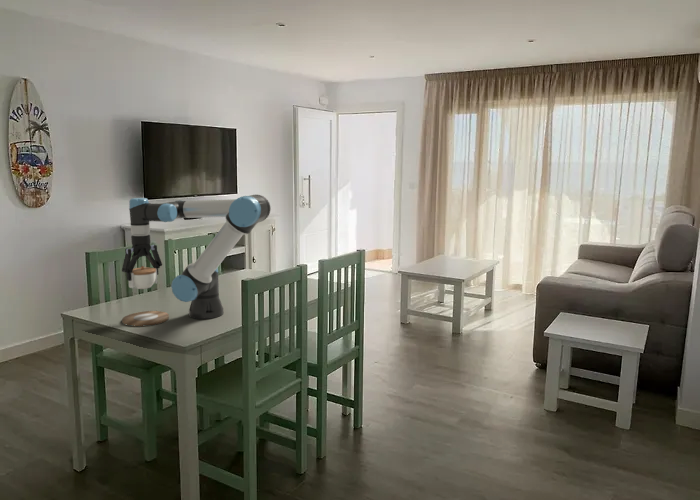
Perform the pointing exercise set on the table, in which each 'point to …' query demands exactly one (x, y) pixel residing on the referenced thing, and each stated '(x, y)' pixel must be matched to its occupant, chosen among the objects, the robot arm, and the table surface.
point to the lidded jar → (144, 277)
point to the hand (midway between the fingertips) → (143, 285)
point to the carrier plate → (146, 318)
